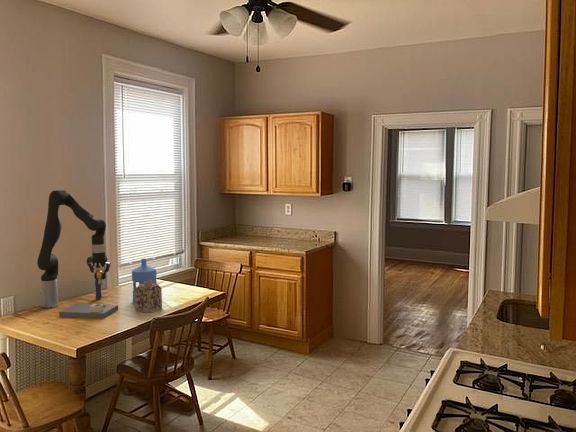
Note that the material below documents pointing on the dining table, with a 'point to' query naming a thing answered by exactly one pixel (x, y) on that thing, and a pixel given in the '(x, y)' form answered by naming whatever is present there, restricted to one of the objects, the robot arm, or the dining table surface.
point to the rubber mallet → (98, 287)
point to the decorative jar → (148, 297)
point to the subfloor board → (87, 311)
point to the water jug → (143, 275)
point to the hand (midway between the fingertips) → (100, 279)
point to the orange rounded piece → (99, 277)
